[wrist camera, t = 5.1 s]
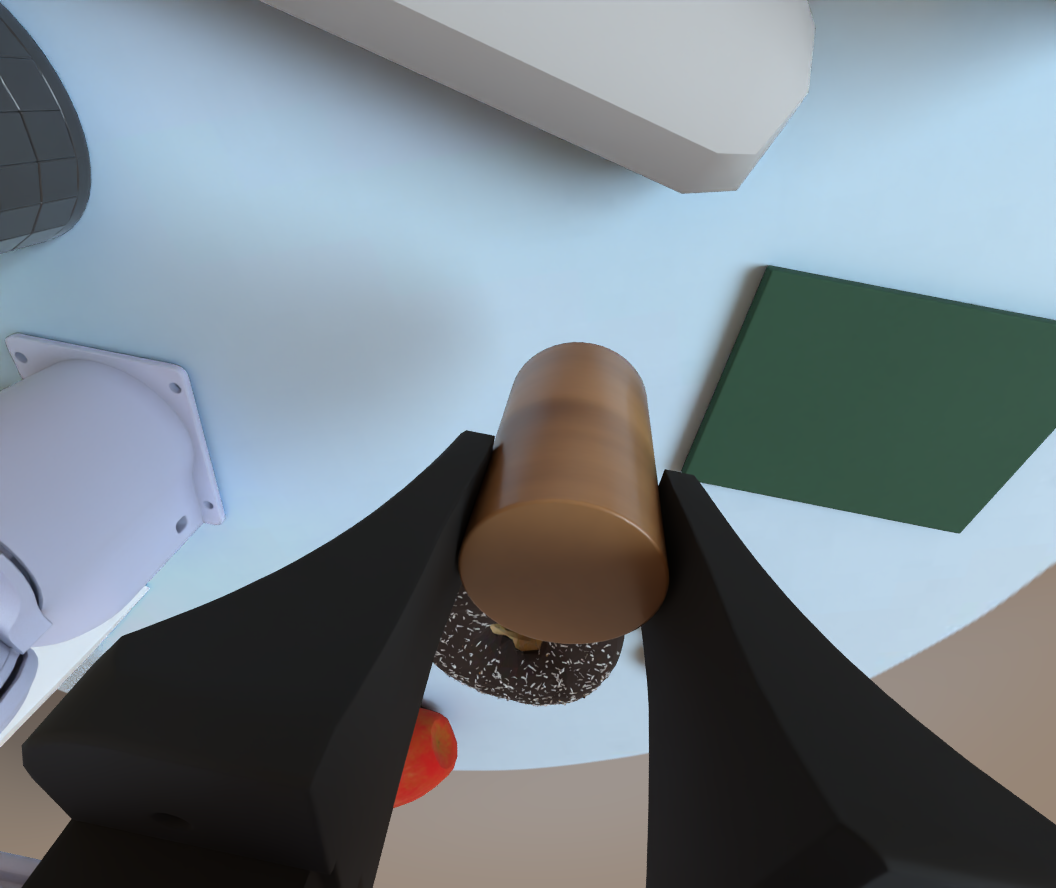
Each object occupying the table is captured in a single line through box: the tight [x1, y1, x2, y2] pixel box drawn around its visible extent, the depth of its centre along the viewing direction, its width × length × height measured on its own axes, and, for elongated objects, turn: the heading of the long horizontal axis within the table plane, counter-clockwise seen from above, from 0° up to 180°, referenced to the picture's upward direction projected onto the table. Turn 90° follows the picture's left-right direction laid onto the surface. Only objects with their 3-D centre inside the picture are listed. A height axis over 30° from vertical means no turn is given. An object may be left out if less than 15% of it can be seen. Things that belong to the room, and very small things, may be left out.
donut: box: [433, 584, 624, 706], centre depth 27 cm, size 11×12×4 cm
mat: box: [682, 266, 1056, 533], centre depth 19 cm, size 9×12×1 cm
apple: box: [393, 708, 457, 808], centre depth 35 cm, size 6×6×8 cm
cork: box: [458, 342, 669, 644], centre depth 11 cm, size 4×4×6 cm
